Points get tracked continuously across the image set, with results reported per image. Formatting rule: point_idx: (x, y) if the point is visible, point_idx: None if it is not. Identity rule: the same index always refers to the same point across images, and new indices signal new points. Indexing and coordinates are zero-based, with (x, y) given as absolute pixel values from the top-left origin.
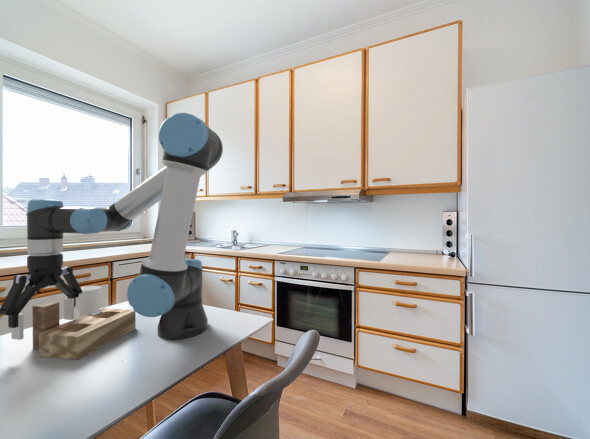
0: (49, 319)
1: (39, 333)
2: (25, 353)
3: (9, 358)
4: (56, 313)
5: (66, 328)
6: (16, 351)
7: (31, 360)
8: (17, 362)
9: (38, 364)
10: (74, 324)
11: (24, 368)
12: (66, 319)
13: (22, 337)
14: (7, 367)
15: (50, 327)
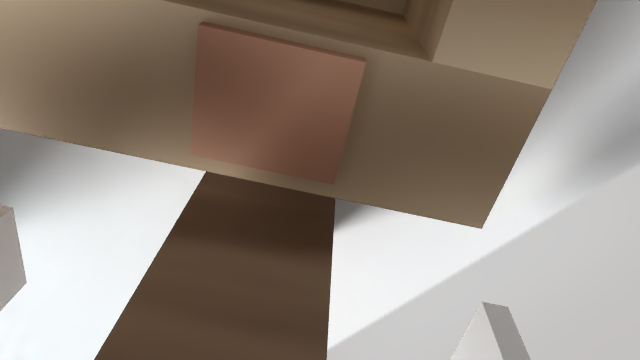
0: (264, 323)
1: (479, 223)
2: (377, 235)
3: (434, 270)
4: (152, 346)
5: (312, 31)
6: (344, 296)
7: None
8: (505, 192)
9: (590, 19)
10: (183, 5)
11: (627, 79)
12: (21, 260)
13: (491, 313)
14: (565, 199)
15: (273, 245)
